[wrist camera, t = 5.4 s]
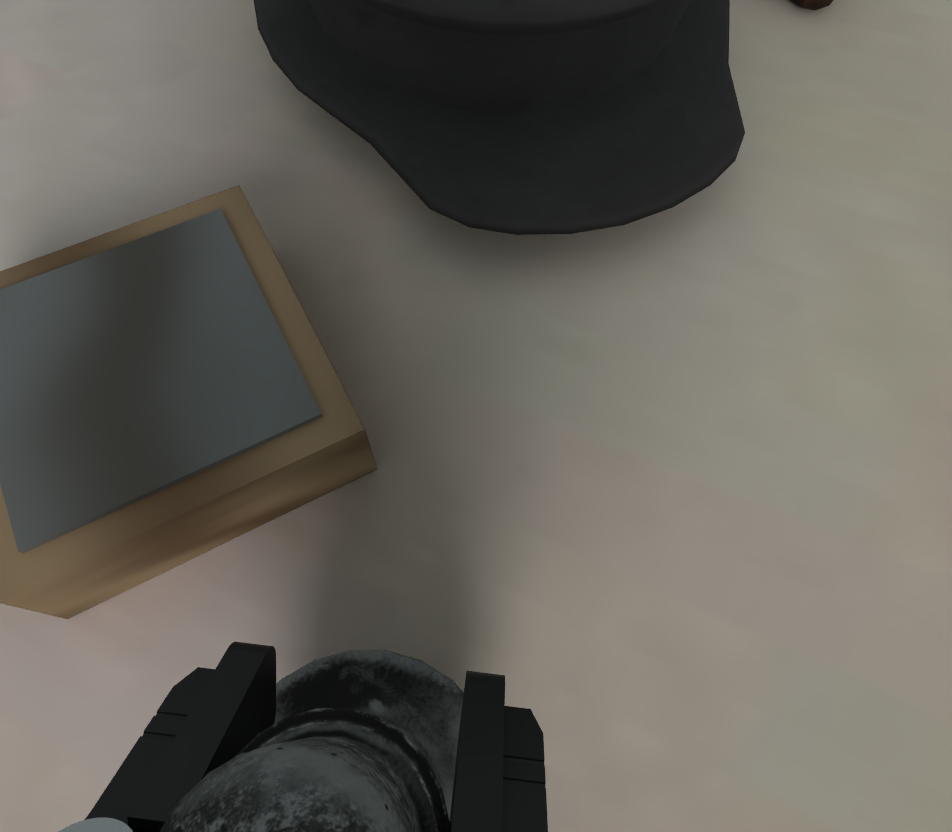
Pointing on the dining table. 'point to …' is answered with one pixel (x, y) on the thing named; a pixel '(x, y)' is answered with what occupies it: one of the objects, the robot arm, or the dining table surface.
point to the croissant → (813, 3)
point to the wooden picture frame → (157, 404)
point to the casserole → (524, 100)
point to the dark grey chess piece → (340, 754)
